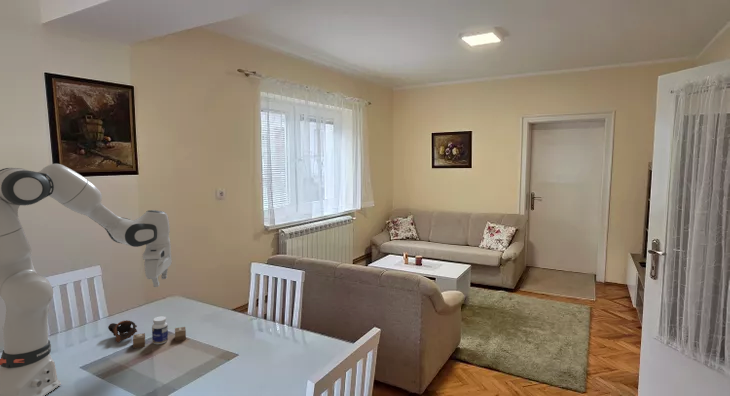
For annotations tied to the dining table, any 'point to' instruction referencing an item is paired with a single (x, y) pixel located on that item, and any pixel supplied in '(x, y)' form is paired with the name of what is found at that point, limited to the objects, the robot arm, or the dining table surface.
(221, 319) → the dining table surface
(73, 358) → the dining table surface
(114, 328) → the pottery mug
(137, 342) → the walnut block dot
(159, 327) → the pill bottle
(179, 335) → the walnut block bar
